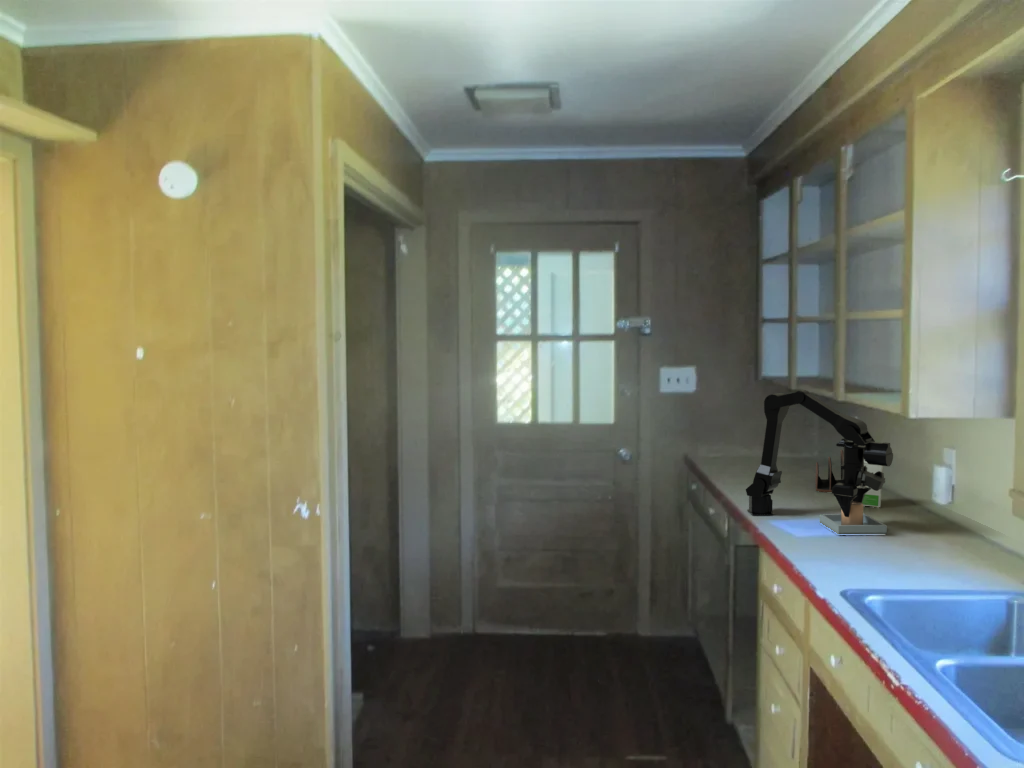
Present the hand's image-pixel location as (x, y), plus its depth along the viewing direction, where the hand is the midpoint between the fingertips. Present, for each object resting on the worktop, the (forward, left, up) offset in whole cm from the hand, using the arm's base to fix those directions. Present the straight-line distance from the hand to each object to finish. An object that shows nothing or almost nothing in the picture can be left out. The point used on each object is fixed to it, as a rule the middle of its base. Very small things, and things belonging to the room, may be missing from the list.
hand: (852, 513), depth 235 cm
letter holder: (+18, +60, -5) cm, 63 cm away
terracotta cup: (0, 0, -4) cm, 4 cm away
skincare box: (+19, +31, -5) cm, 37 cm away
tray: (0, 0, -5) cm, 5 cm away
